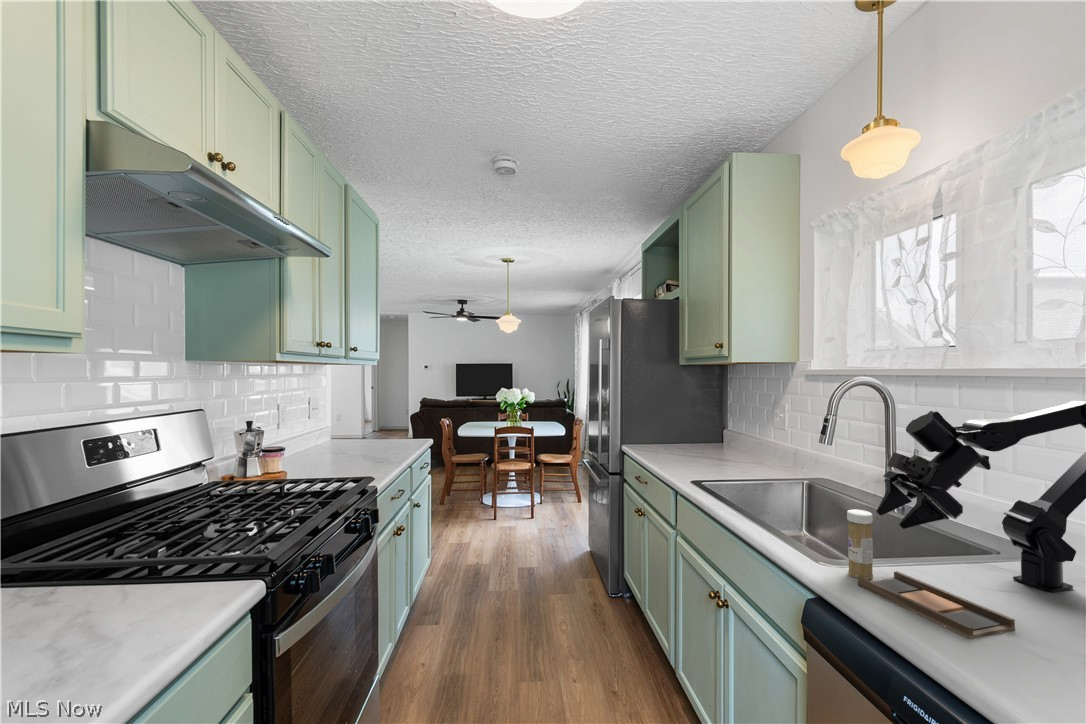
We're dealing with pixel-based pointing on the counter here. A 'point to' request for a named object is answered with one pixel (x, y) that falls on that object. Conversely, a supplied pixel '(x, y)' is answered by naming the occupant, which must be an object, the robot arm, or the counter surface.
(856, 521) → the sprinkles bottle
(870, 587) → the board
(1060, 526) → the robot arm
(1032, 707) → the counter surface
